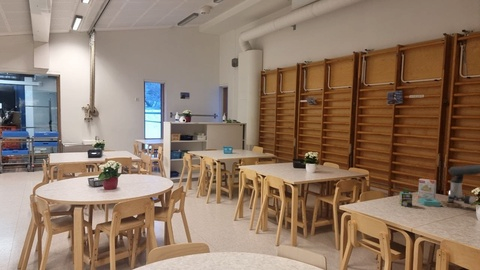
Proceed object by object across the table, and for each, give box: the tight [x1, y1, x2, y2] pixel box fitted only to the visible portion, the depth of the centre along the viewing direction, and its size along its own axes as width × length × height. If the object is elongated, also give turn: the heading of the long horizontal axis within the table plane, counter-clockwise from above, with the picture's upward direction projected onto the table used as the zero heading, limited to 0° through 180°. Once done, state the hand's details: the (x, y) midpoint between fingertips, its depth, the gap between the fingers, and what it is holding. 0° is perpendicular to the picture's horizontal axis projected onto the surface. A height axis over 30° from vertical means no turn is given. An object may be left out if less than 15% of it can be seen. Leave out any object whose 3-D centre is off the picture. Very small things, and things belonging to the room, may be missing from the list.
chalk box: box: [399, 188, 413, 208], centre depth 294 cm, size 9×9×15 cm
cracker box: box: [417, 178, 437, 200], centre depth 316 cm, size 14×6×21 cm, turn 43°
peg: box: [447, 189, 455, 204], centre depth 296 cm, size 4×4×14 cm
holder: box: [440, 200, 462, 209], centre depth 296 cm, size 12×12×3 cm
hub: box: [418, 198, 442, 207], centre depth 300 cm, size 14×14×4 cm
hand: (450, 196), depth 297 cm, fingers open, 8 cm apart
